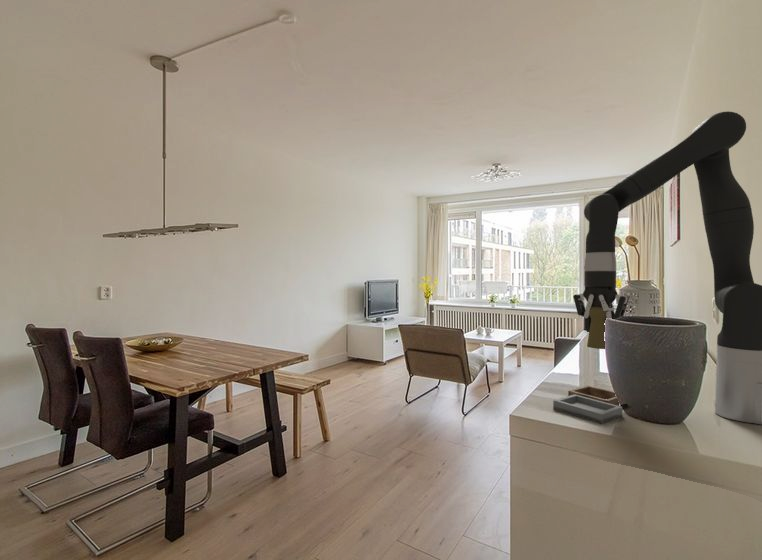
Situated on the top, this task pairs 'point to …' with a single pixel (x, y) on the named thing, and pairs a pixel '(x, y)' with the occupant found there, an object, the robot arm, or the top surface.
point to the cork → (597, 328)
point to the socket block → (595, 394)
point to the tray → (588, 408)
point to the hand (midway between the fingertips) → (599, 332)
